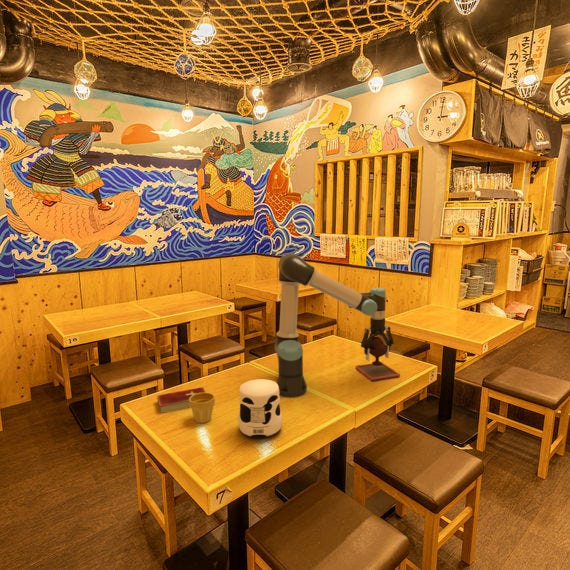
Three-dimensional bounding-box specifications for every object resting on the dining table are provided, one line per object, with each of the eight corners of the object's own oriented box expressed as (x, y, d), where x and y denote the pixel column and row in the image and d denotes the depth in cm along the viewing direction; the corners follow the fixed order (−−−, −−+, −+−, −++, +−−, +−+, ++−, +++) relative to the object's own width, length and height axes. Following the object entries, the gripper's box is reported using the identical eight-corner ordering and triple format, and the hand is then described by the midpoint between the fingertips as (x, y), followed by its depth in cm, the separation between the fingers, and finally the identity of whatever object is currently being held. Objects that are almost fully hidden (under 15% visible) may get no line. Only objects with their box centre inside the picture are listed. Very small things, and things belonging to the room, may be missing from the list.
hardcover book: (157, 403, 182) (157, 394, 181) (203, 394, 190) (202, 386, 189) (160, 414, 171) (159, 405, 170) (208, 404, 179) (208, 396, 178)
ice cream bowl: (390, 367, 203) (390, 339, 200) (368, 367, 203) (368, 339, 200) (385, 360, 213) (385, 333, 210) (364, 360, 213) (364, 333, 211)
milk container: (266, 414, 168) (265, 374, 165) (291, 431, 154) (290, 388, 151) (230, 428, 158) (228, 385, 155) (253, 447, 144) (251, 401, 141)
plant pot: (204, 410, 173) (203, 389, 171) (220, 417, 166) (219, 396, 165) (185, 420, 165) (183, 398, 163) (201, 428, 158) (199, 405, 157)
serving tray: (371, 381, 198) (371, 378, 198) (355, 368, 215) (355, 365, 215) (399, 377, 203) (399, 374, 202) (381, 365, 220) (381, 362, 219)
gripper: (360, 321, 197) (360, 364, 201) (401, 317, 203) (400, 358, 207) (354, 318, 204) (353, 359, 208) (393, 314, 210) (392, 353, 214)
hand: (377, 358), depth 207 cm, fingers closed on ice cream bowl, 11 cm apart
